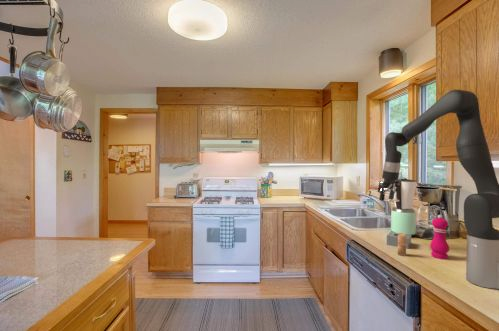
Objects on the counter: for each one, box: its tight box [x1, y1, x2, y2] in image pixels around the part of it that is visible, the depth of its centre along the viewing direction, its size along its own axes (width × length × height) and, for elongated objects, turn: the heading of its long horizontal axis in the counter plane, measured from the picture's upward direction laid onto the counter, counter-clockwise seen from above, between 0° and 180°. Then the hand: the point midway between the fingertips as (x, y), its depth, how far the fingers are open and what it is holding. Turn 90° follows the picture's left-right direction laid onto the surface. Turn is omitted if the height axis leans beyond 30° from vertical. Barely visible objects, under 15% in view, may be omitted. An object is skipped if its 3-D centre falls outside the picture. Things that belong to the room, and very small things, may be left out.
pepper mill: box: [429, 214, 450, 260], centre depth 118 cm, size 7×7×20 cm
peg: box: [397, 233, 407, 257], centre depth 121 cm, size 3×3×10 cm
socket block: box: [386, 231, 412, 250], centre depth 136 cm, size 10×10×5 cm
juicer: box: [390, 178, 417, 237], centre depth 154 cm, size 19×13×35 cm
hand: (386, 199), depth 135 cm, fingers open, 8 cm apart
